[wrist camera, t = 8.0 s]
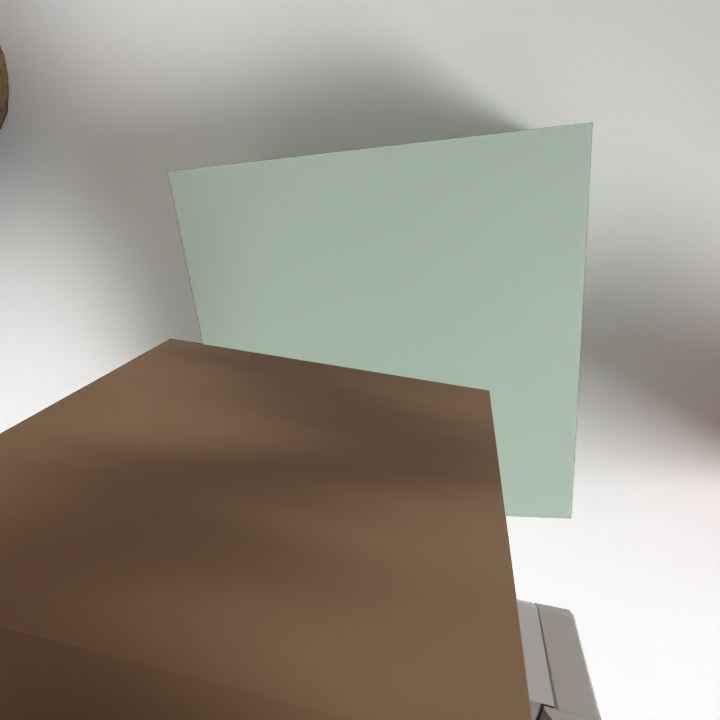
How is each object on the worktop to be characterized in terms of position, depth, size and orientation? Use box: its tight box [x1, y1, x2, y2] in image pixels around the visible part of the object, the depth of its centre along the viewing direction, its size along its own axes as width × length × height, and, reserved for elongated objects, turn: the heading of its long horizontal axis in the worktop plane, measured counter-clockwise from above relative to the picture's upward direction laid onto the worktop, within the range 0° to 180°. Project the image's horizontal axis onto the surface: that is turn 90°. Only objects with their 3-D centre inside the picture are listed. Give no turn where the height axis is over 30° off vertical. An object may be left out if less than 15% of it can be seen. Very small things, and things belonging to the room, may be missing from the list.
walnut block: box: [0, 339, 532, 720], centre depth 7 cm, size 6×6×6 cm
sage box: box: [167, 122, 593, 518], centre depth 22 cm, size 14×14×8 cm
